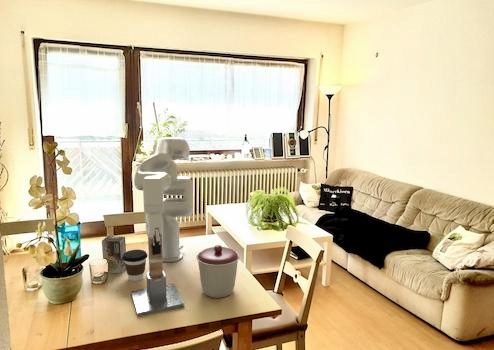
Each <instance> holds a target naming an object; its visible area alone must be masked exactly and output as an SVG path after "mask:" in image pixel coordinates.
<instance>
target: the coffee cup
mask: <svg viewBox="0 0 494 350" xmlns="http://www.w3.org/2000/svg"><path fill="white" fill-rule="evenodd" d="M147 257H148V253H147V252H146V251H145V250H144V249H131V250H126V252H125V253H124V255H123V256H122V258H123V260H124V262H125V267H126V270H125V272H126V274H127V277H128V281H130V282H140V281H141V280H143V278H144V277H145V271H146V264H147V263H146V262H147V259H148V258H147Z"/></svg>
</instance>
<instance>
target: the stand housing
mask: <svg viewBox="0 0 494 350" xmlns="http://www.w3.org/2000/svg"><path fill="white" fill-rule="evenodd" d="M145 276H146V288H141V289H136V290H131V291H130V294H131V298H132V302H133V305H134V308H135V312H136V313H135V314H136V315H137V318H138V317H142V316H147V315H152V314H156V313H161V312H166V311H171V310H176V309H180V308H184V307H185V302H184V300H183V299H182V297H181V295H180V292H179V291H178V289H177V288H176V286H175V285H176V284H174V283H169V284H167V275H166V273H165V271H164V270H163V276H161V277H156V278H150V275H149V271H146V273H145Z"/></svg>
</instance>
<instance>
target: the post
mask: <svg viewBox="0 0 494 350" xmlns="http://www.w3.org/2000/svg"><path fill="white" fill-rule="evenodd" d="M154 237H156V236H154ZM155 240H156V239H154V241H155ZM160 244H161V254H158V255H153V254H152V245H153V240H152V238H151V239H150V238H149V237H148V236H147V245H148V254H147V257H148V272H149V275H150V278H156V277H161V276H163V271H164V269H163V263H164V262H162V261H163V258H162V237H161V238H160Z"/></svg>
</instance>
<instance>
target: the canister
mask: <svg viewBox="0 0 494 350" xmlns="http://www.w3.org/2000/svg"><path fill="white" fill-rule="evenodd" d="M240 256H241V255H240V254H239V252H237V251H236V250H234V249H233V248H229V247H225V246H222V245H219V244H217V245H215V246H213V247H209V248H205V249H203V250H201V251H199V252H197V254H196V256H195V258H196V260H197V262H198V269H199V270H198V271H199V278H200V283H201V284H200V285H201V289H202V291H203V293H204V294H205V295H206V296H208V297H210V298H214V299H215V298H216V299H218V298H220V299H221V298H224V297H225V298H226V297H228V296H230V295H232V293H233V292H234V289H235V285H236V277H237V272H238V271H237V269H238V265H239V264H238V261H239V260H240Z"/></svg>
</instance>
